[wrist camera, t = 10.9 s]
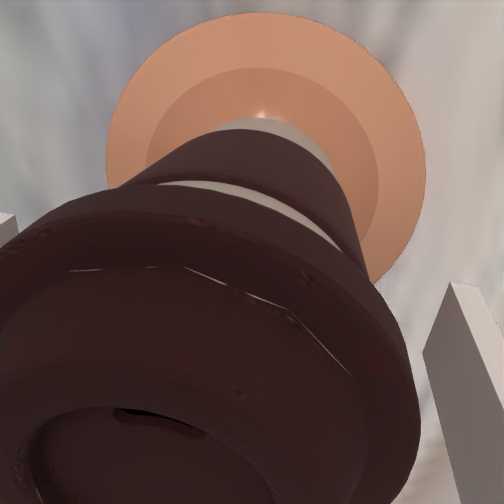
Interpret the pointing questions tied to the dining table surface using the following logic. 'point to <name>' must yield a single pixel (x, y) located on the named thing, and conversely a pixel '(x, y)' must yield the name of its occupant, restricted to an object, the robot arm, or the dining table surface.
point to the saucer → (283, 113)
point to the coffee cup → (203, 339)
